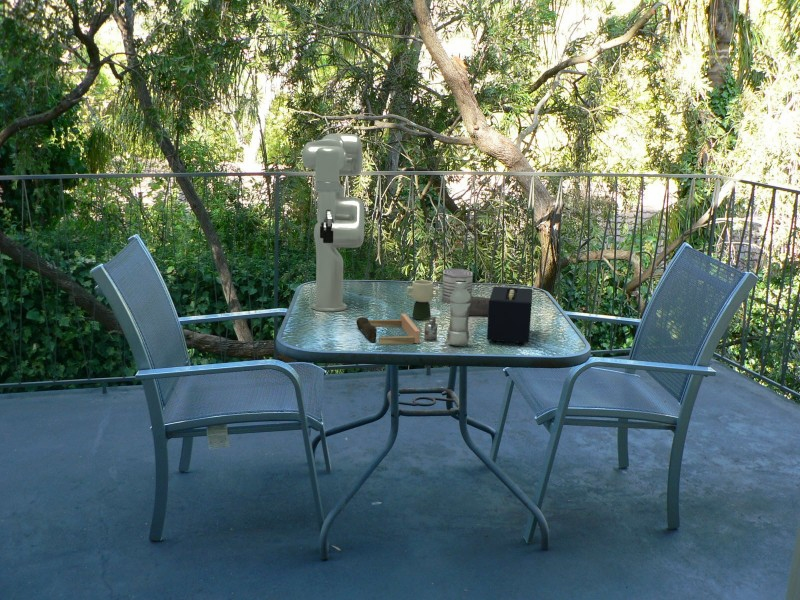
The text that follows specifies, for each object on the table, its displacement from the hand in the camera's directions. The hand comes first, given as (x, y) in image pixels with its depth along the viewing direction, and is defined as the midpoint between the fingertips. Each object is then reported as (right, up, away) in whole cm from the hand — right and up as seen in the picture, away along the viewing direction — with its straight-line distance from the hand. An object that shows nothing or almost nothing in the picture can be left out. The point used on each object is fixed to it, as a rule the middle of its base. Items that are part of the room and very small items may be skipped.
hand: (326, 240), depth 269 cm
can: (+45, -20, +47) cm, 68 cm away
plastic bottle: (+41, -33, -12) cm, 55 cm away
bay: (+21, -30, -3) cm, 37 cm away
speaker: (+59, -31, -1) cm, 66 cm away
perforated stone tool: (+52, -25, +27) cm, 64 cm away
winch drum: (+33, -32, -7) cm, 46 cm away
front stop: (+27, -30, -1) cm, 40 cm away
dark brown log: (+14, -31, -4) cm, 34 cm away
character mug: (+31, -26, +19) cm, 45 cm away
